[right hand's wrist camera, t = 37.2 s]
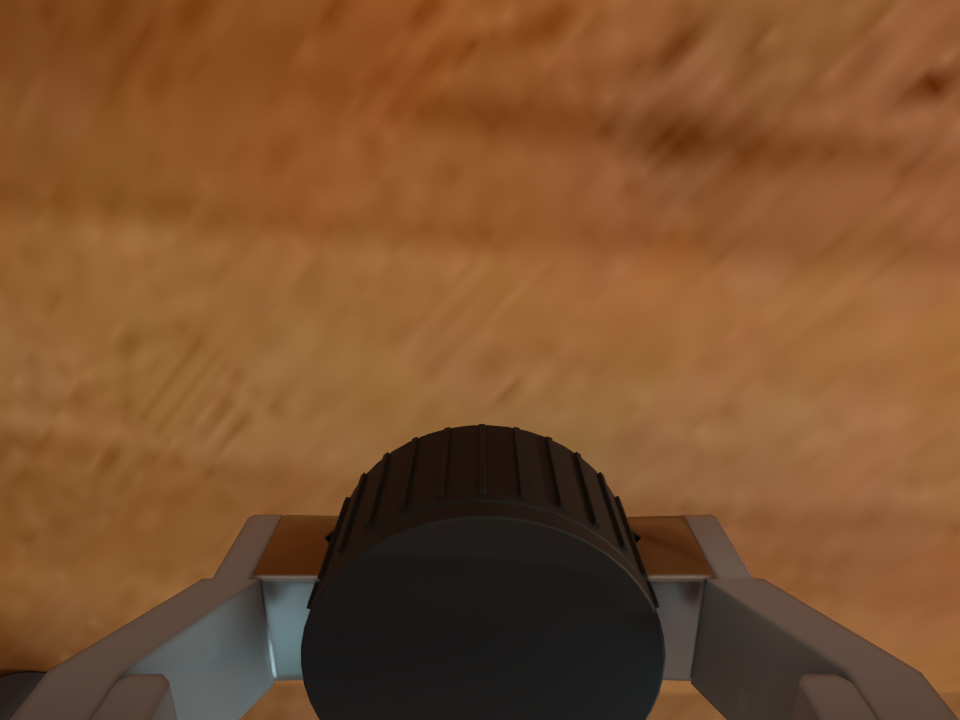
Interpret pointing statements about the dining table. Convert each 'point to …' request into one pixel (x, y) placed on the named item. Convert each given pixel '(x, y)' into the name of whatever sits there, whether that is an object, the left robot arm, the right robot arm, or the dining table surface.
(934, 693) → the right robot arm
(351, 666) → the cap
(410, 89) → the dining table surface
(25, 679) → the bottle
